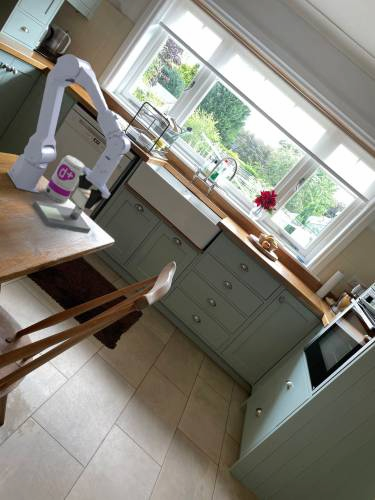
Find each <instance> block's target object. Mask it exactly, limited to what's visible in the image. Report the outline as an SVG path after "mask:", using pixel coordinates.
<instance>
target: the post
mask: <svg viewBox="0 0 375 500" xmlns="http://www.w3.org/2000/svg"><path fill="white" fill-rule="evenodd" d="M72 209H73V211H72V213H71V214H70V217H71V218H72V219H74V220H78V218H79V216H80V215H81V216H82V213H83V212H84V210H85V208H80V207H79V206H78V205H77V204H75V206H74V208H72Z"/></svg>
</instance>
